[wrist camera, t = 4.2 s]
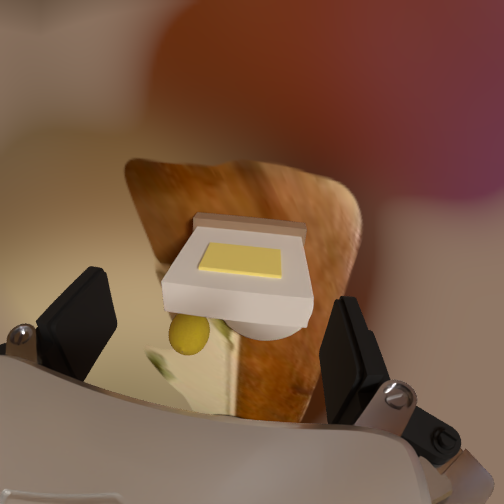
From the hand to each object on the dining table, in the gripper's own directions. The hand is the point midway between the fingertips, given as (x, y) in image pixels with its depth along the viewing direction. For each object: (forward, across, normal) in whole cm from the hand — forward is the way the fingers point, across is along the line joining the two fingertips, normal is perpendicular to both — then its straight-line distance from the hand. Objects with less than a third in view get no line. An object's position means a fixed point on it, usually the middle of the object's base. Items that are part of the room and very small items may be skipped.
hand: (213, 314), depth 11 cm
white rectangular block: (+23, 0, +6) cm, 24 cm away
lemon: (+24, +7, +20) cm, 32 cm away
